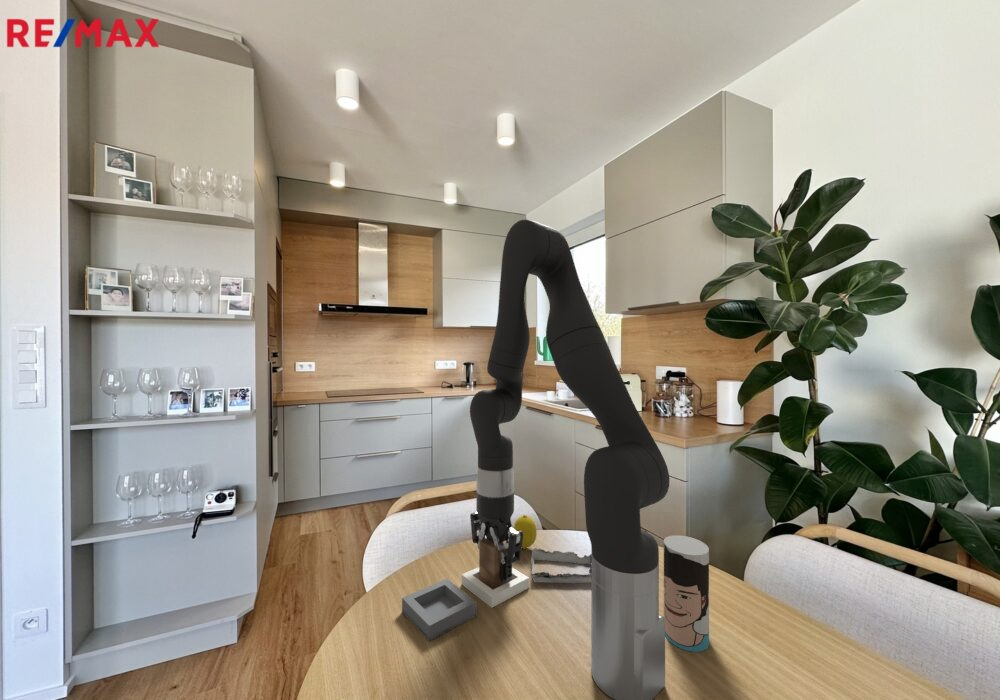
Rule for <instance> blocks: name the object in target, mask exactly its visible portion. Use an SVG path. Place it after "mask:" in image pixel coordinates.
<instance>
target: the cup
mask: <svg viewBox="0 0 1000 700" xmlns="http://www.w3.org/2000/svg"><path fill="white" fill-rule="evenodd" d="M663 617H664V618H665V639H666V640H668V642H670V643H671V644H672V645H673V646H675V647H678V648H679V649H682V650H684V651H687V652H692V653H693V652H694V653H695V652H696V653H698V652H703V651H705V650H707V649H708V648H709V646H710V548H709V546H708V545H707V544H706V543H705V542H703V541H701V540H699V539H697V538H694V537H690V536H687V535H679V534H678V535H669V536H666V537H665V538H664V540H663Z"/></svg>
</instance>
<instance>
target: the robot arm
mask: <svg viewBox="0 0 1000 700" xmlns="http://www.w3.org/2000/svg"><path fill="white" fill-rule="evenodd" d="M529 275H533V276H536V277H537V278H538V279H539V280H540V282H541V285H542V287H543V289H544V292H545V293H546V296H547V300H548V302H549V303H548V304H549V309H548V310H549V311H548V317H547V321H546V329H545V339H546V344H547V348H548V350H549V353H550V355H551V358H552V361H553V365H554V366H555V369H556V372H557V374H558V375H559V377H560V378H561V381H562V382H563V383H564V384H565V386H566V387H567V389H569V390H570V392H571V393H572V394H573V395H574V396H575V397H577V399H579V401H580V402H581V403H582V404H583V405H584V406H585V407H586V408H587V409H588V410H589V412H590V413H591V414H592V416H594V418H595V419H596V421H597V423H598V424H599V426H600V428H601V430H602V432H603V435H604V437H605V439H606V442H607V446H604V447H600V448H597V449H596V450H594V451H593V452H591V453H590V455H589V456H588V457H587V461H586V463H585V467H584V472H583V473H584V474H583V492H584V494H583V497H584V512H585V514H584V515H585V528H586V531H587V534H588V538H589V541H590V546H591V547H590V548H591V554H592V563H591V565H592V582H591V598H590V599H591V605H590V607H591V610H590V611H591V619H590V620H591V621H590V622H591V625H590V626H591V632H590V633H591V634H590V635H591V637H590V639H591V641H590V644H591V645H590V646H591V647H590V648H591V652H590V654H591V657H590V658H591V665H590V666H591V675H592V678H593V682H595V684H596V685H597V687H598V688H599V689H600V690H601V691H602V692H603V693H605V694H606V695H607V696H608V697H610V698H612V699H613V700H654V699H655V697H656V696H658V695H659V693H660V692H661V690H662V689H663V688H664V687H665V686H666V636H665V618H664V615H663V616H662V615H661V614H659V611H660V610H659V609H660V608H659V606H660V605H659V604H660V603H659V601H660V598H659V597H660V596H659V595H660V592H659V591H660V590H659V587H660V583H659V582H660V579H659V578H660V569H659V567H660V566H659V565H660V564H659V562H660V555H659V554H660V553H659V552H660V551H659V550H660V549H659V544H658V541H657V539H656V538H655V537H654V536H653V535H652V534H651V533H649V532H648V531H646V530H644V529H642V527H641V526H642V525H641V509H645V508H647V507H649V506H651V505H654V504H657V503H659V502H660V501H661V500H663V499H664V498H665V497H666V496H667V494H668V491H669V488H670V473H669V469H668V465H667V463H666V461H665V458H664V455H663V453H662V452H661V449H660V448H659V446H658V445H657V442H656V441H655V440H654V437H653V436H652V434H651V432H650V431H649V429H648V427H647V425H646V424H645V421H644V420H643V418H642V416H641V414H640V412H639V411H638V409H637V407H636V405H635V403H634V402H633V399H632V397H631V395H630V393H629V390H628V389H627V386H626V384H625V381H624V380H623V377H622V375H621V373H620V370H619V368H618V366H617V364H616V362H615V359H614V357H613V355H612V352H611V349H610V347H609V345H608V342H607V340H606V338H605V336H604V333H603V331H602V328H601V327H600V324H599V322H598V321H597V318H596V317H595V314H594V312H593V310H592V307H591V305H590V302H589V300H588V297H587V295H586V293H585V290H584V289H583V286H582V283H581V281H580V278H579V274H578V272H577V268H576V265H575V261H574V258H573V255H572V252H571V249H570V245H569V243H568V241H567V239H566V237H565V235H564V234H562V233H561V232H560V231H559V230H557V229H556V228H554V227H551V226H548V225H545V224H543V223H540V222H538V221H536V220H535V221H534V220H532V219H527V218H525V219H523V218H522V219H519V220H517V221H516V222H515V223H513V225H512V226H511V227H510V229H509V231H507V235H506V236H505V240H504V245H503V250H502V257H501V267H500V281H499V291H498V293H499V295H498V307H497V319H496V325H495V326H496V327H495V331H494V335H493V340H492V344H491V348H490V352H489V357H488V362H487V367H486V370H487V374H488V375H489V376H490V377H492V378H493V379H496V384H495V388H492V389H491V388H490V389H483V390H479V391H478V392H476V393H475V394H474V395H473V397H472V399H471V401H470V405H469V406H470V407H469V417H470V421H471V424H472V429H473V434H474V438H475V441H476V444H477V472H476V503H475V504H476V511H475V512H472V513H470V514H469V515H470V526H471V527H470V528H471V539H472V543H473V544H477V548H478V550H479V540H483V539H485V538H487V539H488V540H492V541H493V542H494V545H495V548H496V551H498V552H499V556H500V560H501V563H500V581H502V582H503V583H505V582H507V581H509V580H510V579H511V578H512V568H513V564H515V563H517V562H519V561H520V560H521V559H522V557H521V556H522V548H523V547H522V541H523V532H522V531H521V530H520V531H515V530H514V529H513V528H514V527H513V524H512V519H511V518H512V516H513V514H514V511H515V473H514V448H513V441H512V439H511V438H510V437H509V436H506V435H503V434H501V430H500V425H501V424H505V423H510V422H512V421H513V420H515V419H516V418H517V416H518V415H519V412H520V410H521V407H522V402H523V376H522V375H523V371H524V366H525V363H526V359H527V355H528V351H529V346H530V337H531V336H530V328H529V320H528V315H527V312H526V302H525V296H526V295H525V294H526V285H527V282H528V279H529ZM478 531H479V532H478ZM477 532H478V533H479V534H478V533H477ZM505 540H506V543H505V544H504V545H500V543H501V542H504V541H505ZM505 549H506V550H507V555H506V556H505V553H504V550H505Z"/></svg>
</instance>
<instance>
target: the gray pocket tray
mask: <svg viewBox="0 0 1000 700" xmlns="http://www.w3.org/2000/svg"><path fill="white" fill-rule="evenodd" d="M401 613H402V614H404V616H405V617H406V618H407V619H408V620H409V621H410V622H411V623H412V624H413V626H414V627H415V628H416V629H417V630H418V631H419V632H420V633H421V634H422V636H423V637H424V638H426V640H427V641H428V642H431V641H433V640H435V639H436V638H438V637H440V636H443V635H444V634H446V633H447V632H449V631H451V630H453V629H455V628H457V627H459V626H461V625H462V624H463V625H464V624H465V623H466V622H468V621H470V620H472V619H473V618H475V617H477V601H476V600H475V599H473V597H471V596H470V595H468V593H466V592H465V591H464V590H462V589H460V587H458V585H456V584H455V583H454V582H452V581H451V580H450V579H448V578H444V579H443V580H441V581H439V582H436V583H433V584H431V585H429V586H427V587H424V588H422V589H419V590H418V591H415V592H413V593H411V594H408V595H405V596H404V597H402V598H401Z"/></svg>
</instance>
